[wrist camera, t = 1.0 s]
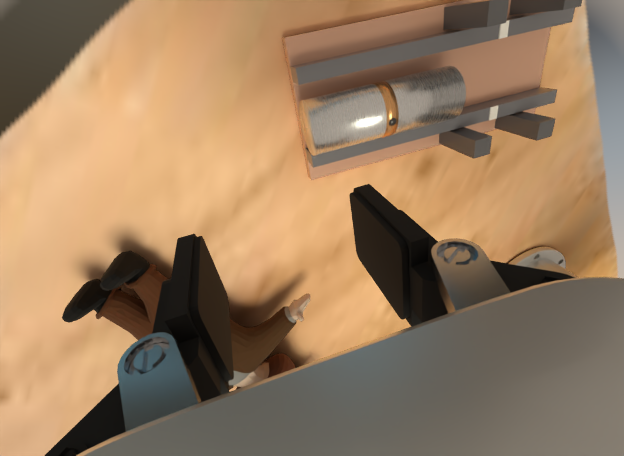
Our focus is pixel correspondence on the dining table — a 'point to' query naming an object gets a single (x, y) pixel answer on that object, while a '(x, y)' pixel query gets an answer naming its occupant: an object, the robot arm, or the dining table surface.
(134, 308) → the toy
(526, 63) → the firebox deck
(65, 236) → the dining table surface
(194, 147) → the dining table surface
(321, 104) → the steel tube
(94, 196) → the dining table surface
